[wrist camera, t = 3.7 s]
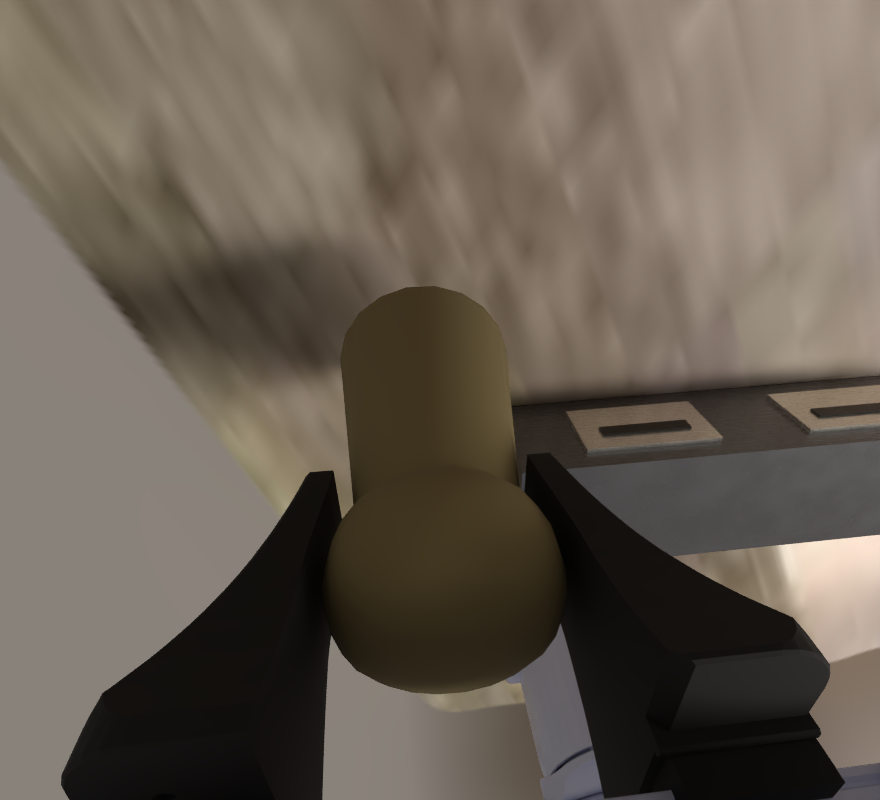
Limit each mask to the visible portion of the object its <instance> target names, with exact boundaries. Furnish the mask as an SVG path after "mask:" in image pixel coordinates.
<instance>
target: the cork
mask: <svg viewBox="0 0 880 800" xmlns="http://www.w3.org/2000/svg"><path fill="white" fill-rule="evenodd" d="M341 369H342V380H343V391H344V402H345V414H346V425H347V436H348V447H349V458H350V470H351V481H352V492H353V503H354V505H353V507H352V508H351V509H350V510H349V511H348V513H347V514H346V515H345V516H344V518H343V519H342V520H341V522H340V524H339V526H338V529H337V531H336V533H335V535H334V537H333V539H332V542H331V546H330V550H329V554H328V557H327V561H326V565H325V571H324V578H323V584H322V593H323V600H324V607H325V613H326V617H327V621H328V625H329V629H330V633H331V635H332V637H333V639H334V640H335V642H336V644H337V646H338V648H339V650H340V651H341V653H342V655H343V656H344V657H345V658H346V659H347V660H348V661H349V662H350V664H352V666H353V667H354V668H355V669H356V670H357V671H359V672H361V673H362V674H364V675H366V676H368V677H370V678H372V679H374V680H375V681H377V682H380V683H382V684H384V685H387V686H389V687H393V688H397V689H401V690H405V691H409V692H414V693H428V694H447V693H458V692H467V691H471V690H475V689H479V688H483V687H487V686H491V685H493V684H496V683H498V682H500V681H502V680H505V679H507V678H509V677H511V676H514V675H515V674H517V673H518V672H520V671H521V670H523V669H524V668H525V667H527V666H528V665H529V664H531V663H532V662H533V661H535V660H536V659H537V658H539V657H540V656H542V655H543V654H544V652H545V651H546V650H547V648H548V647H549V645H550V644H551V643H552V641H553V640H554V639H555V637H556V635H557V632H558V629H559V626H560V623H561V620H562V617H563V613H564V608H565V603H566V598H567V574H566V567H565V564H564V561H563V558H562V555H561V552H560V549H559V546H558V543H557V540H556V538H555V535H554V532H553V529H552V526H551V524H550V523H549V521H548V520H547V518H546V517H545V516H544V514H543V513H542V511H541V510H540V509H539V507H538V506H537V505H536V504H535V503H534V502H533V501H532V500H531V499H530V498H529V497H528V496H527V495H526V494H525V492H524V491H523V490H522V489H521V488H520V486H519V476H518V466H517V456H516V447H515V437H514V427H513V417H512V407H511V398H510V388H509V378H508V368H507V358H506V348H505V345H504V342H503V339H502V336H501V332H500V329H499V326H498V325H497V324H496V322H495V321H494V320H493V319H492V317H491V316H490V315H489V313H488V312H487V311H486V310H485V308H484V307H483V306H481V305H479V304H478V303H476V302H475V301H473V300H472V299H470V298H468V297H467V296H465V295H464V294H462V293H459V292H455V291H451V290H448V289H444V288H440V287H436V286H429V287H409V288H404V289H401V290H399V291H396V292H393V293H390V294H388V295H385V296H382V297H380V298H378V299H377V300H376V301H375V302H373V303H372V304H371V305H369V306H368V307H367V308H366V309H364V310H363V311H362V312H360V313H359V314H358V316H357V318H356V319H355V321H354V322H353V324H352V325H351V327H350V328H349V330H348V331H347V333H346V335H345V339H344V344H343V348H342V353H341Z"/></svg>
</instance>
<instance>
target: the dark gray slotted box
mask: <svg viewBox="0 0 880 800" xmlns="http://www.w3.org/2000/svg"><path fill="white" fill-rule="evenodd" d="M512 417H513V427H514V437H515V447H516V456H517V466H518V476H519V486H520V488H521V489H522V490H523V491H524V488H525V475H526V462H527V454H538V453H550V454H551V455H553V456H554V457H555V458H556V459H557V460H558V461H559V462H560V463H561V464H562V466H563V467H564V468H565V469H566V470H567V471H568V472H569V473H570V474H571V475H572V476H573V477H574V478H575V479H576V480H577V481H578V482H579V483H580V484H581V485H583V486H584V487H585V488H586V489H587V490H588V491H589V492H590V493H591V494H592V495H593V496H594V497H595V498H596V499H598V500H599V501H600V502H601V503H602V504H603V505H604V506H605V507H606V508H607V509H609V510H610V511H611V512H612V513H613V514H614V515H616V516H617V517H618V518H619V519H621V520H622V521H623V522H624V523H625V524H627V525H628V526H629V527H630V528H632V529H633V530H634V531H636V532H637V533H638V534H640V535H641V536H643V537H644V538H645V539H647V540H648V541H650V542H651V543H653V544H654V545H655V546H657V547H658V548H660V549H661V550H663V551H664V552H666V553H667V554H669V555H670V556H678V555H687V554H697V553H707V552H716V551H726V550H736V549H745V548H755V547H764V546H774V545H784V544H793V543H803V542H813V541H822V540H832V539H841V538H851V537H861V536H870V535H880V376H875V377H863V378H851V379H839V380H827V381H815V382H803V383H791V384H779V385H767V386H755V387H743V388H731V389H719V390H707V391H695V392H683V393H671V394H659V395H647V396H635V397H623V398H611V399H599V400H587V401H575V402H563V403H551V404H539V405H527V406H515V407H512Z"/></svg>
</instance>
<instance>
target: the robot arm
mask: <svg viewBox="0 0 880 800" xmlns="http://www.w3.org/2000/svg"><path fill="white" fill-rule="evenodd" d="M524 492H525V494H526V495H527V496H528V497H529V498H530V499H531V500H532V501H533V502H534V503H535V504H536V505H537V506H538V507H539V509H540V510H541V511H542V513H543V514H544V516H545V517H546V518H547V520H548V521H549V523H550V524H551V526H552V529H553V532H554V535H555V538H556V540H557V543H558V546H559V549H560V552H561V555H562V558H563V561H564V564H565V567H566V574H567V598H566V603H565V608H564V613H563V617H562V620H561V623H560V626H559V629H558V632H557V635H556V637H555V639H554V640H553V641H552V643H551V644H550V645H549V647H548V648H547V650H546V651H545V652H544V654H543V655H542V656H540V657H539V658H537V659H536V660H535V661H533V662H532V663H531V664H529V665H528V666H527V667H525V668H524V669H523V670H521V671H520V672H518V673H517V674H515V675H514V676H511V677H509V678H507V679H506V681H507V682H508V683H510V684H514V683H521V685H522V690H523V694H524V698H525V703H526V707H527V711H528V715H529V720H530V724H531V728H532V733H533V737H534V741H535V746H536V750H537V754H538V759H539V762H540V766H541V769H542V772H543V774H544V777H545V778H542V779H541V780H540V783H541V788H542V793H543V797H544V800H880V763H875V764H868V765H861V766H853V767H845V768H837V769H836V767H835V766H834V764H833V763H832V761H831V760H830V758H829V757H828V755H827V754H826V752H825V751H824V749H823V748H822V746H821V745H820V743H819V742H818V741H817V739H816V738H818V737H819V736H820V735H821V731H820V728H819V727H818V725H817V724H816V722H815V721H814V720H813V718H812V717H811V715H810V713H809V711H810V710H811V708H812V707H813V705H814V704H815V702H816V700H817V699H818V697H819V696H820V694H821V693H822V691H823V690H824V688H825V687H826V684H827V682H828V680H829V677H830V664H829V663H828V661H827V660H826V659H825V657H824V656H823V655H822V653H821V652H820V651H819V649H818V648H817V647H816V645H815V644H814V643H813V641H812V640H811V639H810V637H809V636H808V635H807V633H806V632H805V631H804V630H803V629H802V628H801V626H800V625H799V624H798V623H797V622H796V621H795V620H794V618H793V617H790V616H788V615H786V614H784V613H781V612H779V611H777V610H774V609H772V608H770V607H768V606H765V605H763V604H761V603H758V602H756V601H754V600H752V599H749V598H747V597H745V596H743V595H741V594H739V593H737V592H735V591H733V590H731V589H729V588H727V587H725V586H723V585H721V584H719V583H717V582H715V581H713V580H711V579H710V578H708V577H706V576H704V575H702V574H701V573H699V572H697V571H695V570H694V569H692V568H690V567H689V566H687V565H685V564H684V563H682V562H680V561H679V560H677V559H675V558H674V557H672V556H670V555H669V554H667V553H666V552H664V551H663V550H661V549H660V548H658V547H657V546H655V545H654V544H653V543H651V542H650V541H648V540H647V539H645V538H644V537H643V536H641V535H640V534H638V533H637V532H636V531H634V530H633V529H632V528H630V527H629V526H628V525H627V524H625V523H624V522H623V521H622V520H621V519H619V518H618V517H617V516H616V515H614V514H613V513H612V512H611V511H610V510H609V509H607V508H606V507H605V506H604V505H603V504H602V503H601V502H600V501H599V500H598V499H596V498H595V497H594V496H593V495H592V494H591V493H590V492H589V491H588V490H587V489H586V488H585V487H584V486H583V485H581V484H580V483H579V482H578V481H577V480H576V479H575V478H574V477H573V476H572V475H571V474H570V473H569V472H568V471H567V470H566V469H565V468H564V467H563V466H562V464H561V463H560V462H559V461H558V460H557V459H556V458H555V457H554V456H553V455H551V454H550V453H538V454H527V462H526V475H525V488H524ZM341 520H342V517H341V511H340V506H339V500H338V494H337V489H336V483H335V477H334V472H333V471H320V472H310V473H309V474H308V475H307V476H306V477H305V479H304V481H303V483H302V485H301V486H300V488H299V490H298V492H297V493H296V495H295V497H294V498H293V500H292V502H291V503H290V505H289V507H288V508H287V510H286V511H285V513H284V514H283V516H282V517H281V519H280V520H279V522H278V523H277V525H276V526H275V528H274V529H273V531H272V532H271V534H270V535H269V536H268V538H267V539H266V540H265V542H264V543H263V544H262V546H261V547H260V549H259V550H258V551H257V552H256V554H255V555H254V556H253V558H252V559H251V560H250V561H249V562H248V564H247V565H246V566H245V567H244V569H243V570H242V571H241V572H240V574H239V575H238V576H237V577H236V578H235V579H234V580H233V581H232V582H231V583H230V585H229V586H228V587H227V588H226V589H225V590H224V591H223V592H222V593H221V594H220V595H219V596H218V597H217V598H216V599H215V601H213V602H212V603H211V604H210V606H208V607H207V609H206V610H205V611H204V612H202V613H201V614H200V615H199V616H198V617H197V618H196V619H195V620H194V621H193V622H192V623H191V624H190V625H189V626H187V627H186V628H185V629H184V630H183V631H182V632H181V633H179V634H178V635H177V636H176V637H175V638H174V639H173V640H171V641H170V642H169V643H168V644H167V645H166V646H164V647H163V648H162V649H161V650H160V651H158V652H157V653H156V654H155V655H153V656H152V657H151V658H150V659H148V660H147V661H146V662H144V663H143V664H142V665H140V666H139V667H138V668H136V669H135V670H134V671H132V672H131V673H130V674H128V675H127V676H126V677H124V678H123V679H121V680H120V681H119V682H117V683H116V684H115V685H113V686H112V687H111V688H109V689H108V690H106V691H105V692H104V693H102V696H101V697H100V699H99V701H98V703H97V704H96V706H95V708H94V709H93V711H92V713H91V714H90V716H89V718H88V720H87V722H86V724H85V726H84V728H83V730H82V732H81V734H80V736H79V739H78V741H77V743H76V745H75V747H74V749H73V751H72V754H71V756H70V758H69V760H68V762H67V765H66V767H65V769H64V771H63V773H62V778H61V779H62V780H61V785H62V788H63V790H64V791H65V793H66V795H67V796H68V798H69V800H322V788H323V758H324V757H323V756H324V730H325V709H326V689H327V688H326V687H327V671H328V656H329V647H330V639H331V633H330V629H329V625H328V621H327V617H326V613H325V607H324V600H323V593H322V584H323V578H324V571H325V565H326V561H327V557H328V554H329V550H330V546H331V542H332V539H333V537H334V535H335V533H336V531H337V529H338V526H339V524H340V522H341Z"/></svg>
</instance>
